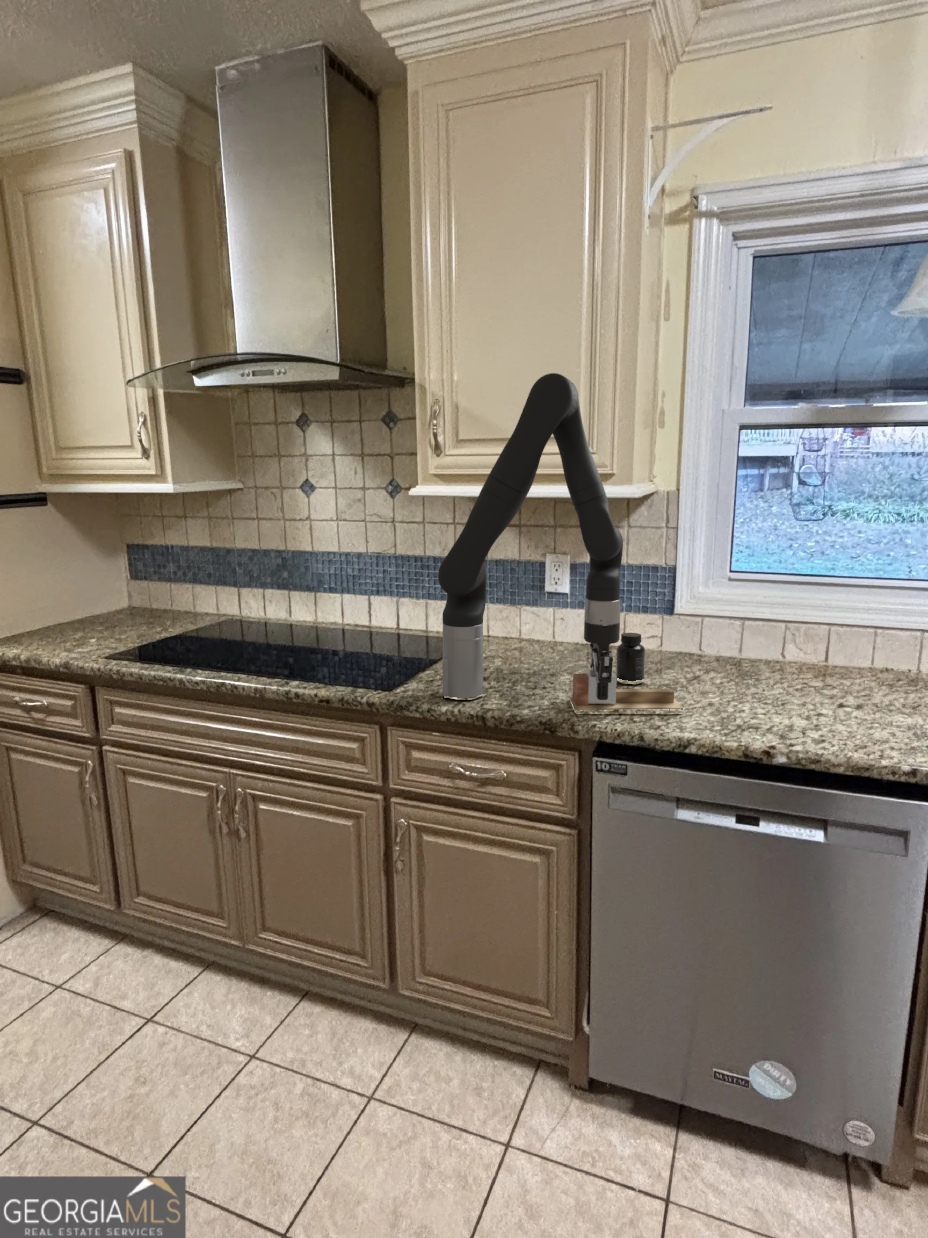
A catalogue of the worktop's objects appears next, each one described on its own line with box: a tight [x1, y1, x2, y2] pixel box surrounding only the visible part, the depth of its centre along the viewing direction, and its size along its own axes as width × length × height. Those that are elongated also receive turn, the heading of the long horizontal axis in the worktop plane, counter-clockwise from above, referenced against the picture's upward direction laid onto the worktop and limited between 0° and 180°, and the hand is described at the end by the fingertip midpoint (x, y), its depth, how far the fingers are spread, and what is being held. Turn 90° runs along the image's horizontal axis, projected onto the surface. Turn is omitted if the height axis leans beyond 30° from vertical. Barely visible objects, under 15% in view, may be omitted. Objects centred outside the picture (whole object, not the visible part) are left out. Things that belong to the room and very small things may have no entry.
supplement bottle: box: [615, 632, 646, 681], centre depth 178 cm, size 7×7×12 cm
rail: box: [568, 672, 684, 711], centre depth 159 cm, size 23×9×7 cm, turn 90°
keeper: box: [584, 669, 618, 704], centre depth 159 cm, size 6×6×6 cm
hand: (599, 694), depth 159 cm, fingers closed on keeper, 5 cm apart
